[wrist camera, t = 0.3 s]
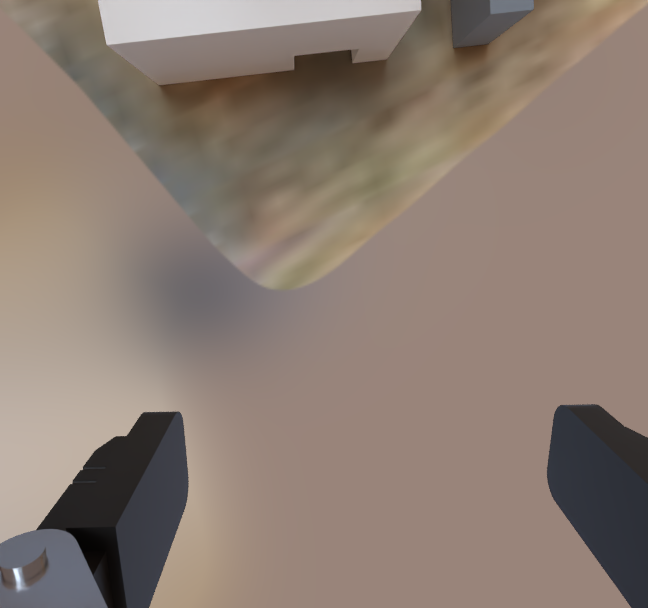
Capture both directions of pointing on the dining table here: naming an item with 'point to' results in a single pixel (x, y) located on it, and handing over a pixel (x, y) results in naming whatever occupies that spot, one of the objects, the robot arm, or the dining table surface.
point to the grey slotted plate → (485, 19)
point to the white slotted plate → (248, 34)
